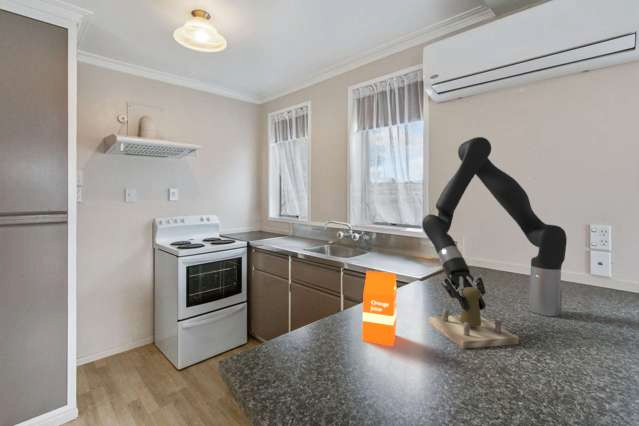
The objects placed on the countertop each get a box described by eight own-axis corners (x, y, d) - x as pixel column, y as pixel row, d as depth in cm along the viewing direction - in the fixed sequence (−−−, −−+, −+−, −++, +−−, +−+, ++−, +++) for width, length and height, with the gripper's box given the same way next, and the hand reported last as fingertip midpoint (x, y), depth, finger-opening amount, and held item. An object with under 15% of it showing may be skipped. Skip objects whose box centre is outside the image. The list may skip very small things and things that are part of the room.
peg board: (476, 319, 107) (476, 304, 107) (518, 343, 89) (519, 325, 89) (429, 322, 104) (429, 306, 103) (463, 348, 86) (463, 329, 86)
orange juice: (392, 346, 87) (394, 276, 86) (362, 340, 90) (363, 273, 89) (395, 334, 94) (397, 270, 93) (367, 330, 97) (368, 268, 96)
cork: (483, 327, 93) (485, 291, 92) (462, 325, 94) (464, 290, 93) (477, 319, 99) (479, 285, 98) (457, 317, 100) (459, 284, 99)
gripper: (438, 256, 101) (460, 304, 90) (476, 255, 104) (502, 302, 93) (429, 268, 107) (448, 315, 96) (466, 267, 109) (489, 313, 98)
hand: (475, 308), depth 94 cm, fingers closed on cork, 5 cm apart
